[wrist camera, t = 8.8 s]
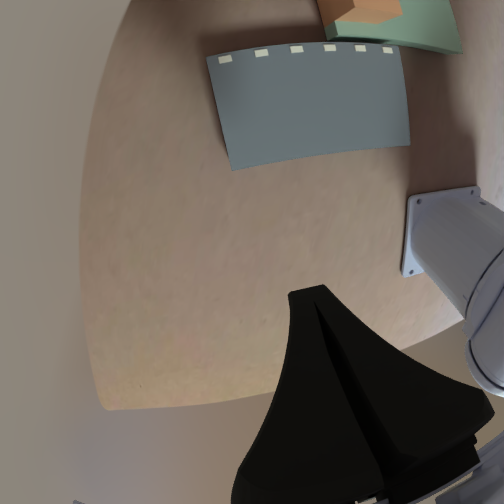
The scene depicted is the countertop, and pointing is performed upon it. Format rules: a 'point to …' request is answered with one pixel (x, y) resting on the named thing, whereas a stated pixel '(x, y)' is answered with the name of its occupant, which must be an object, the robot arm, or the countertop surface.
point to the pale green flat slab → (393, 23)
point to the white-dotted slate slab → (309, 100)
